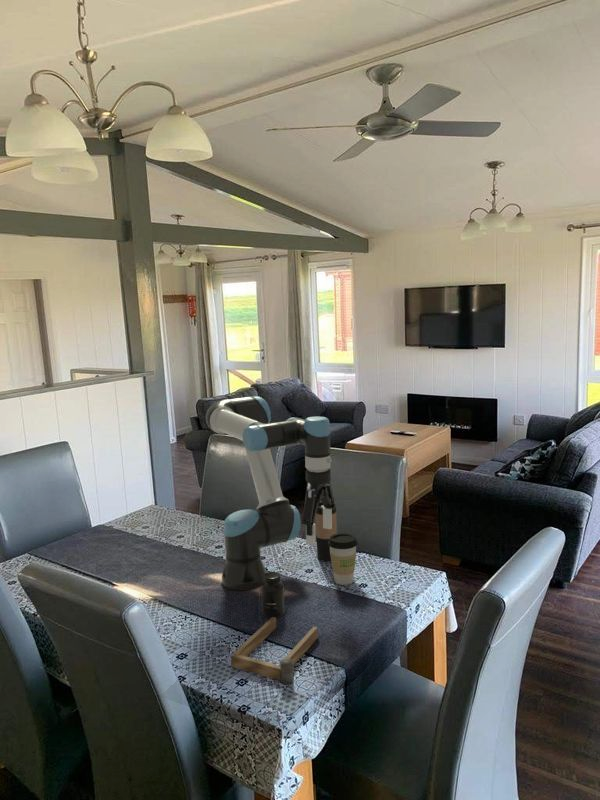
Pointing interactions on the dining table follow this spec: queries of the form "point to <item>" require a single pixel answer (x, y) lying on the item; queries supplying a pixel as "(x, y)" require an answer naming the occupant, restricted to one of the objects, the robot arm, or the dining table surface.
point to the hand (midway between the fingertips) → (319, 536)
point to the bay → (267, 669)
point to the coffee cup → (343, 557)
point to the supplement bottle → (272, 595)
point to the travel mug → (324, 533)
